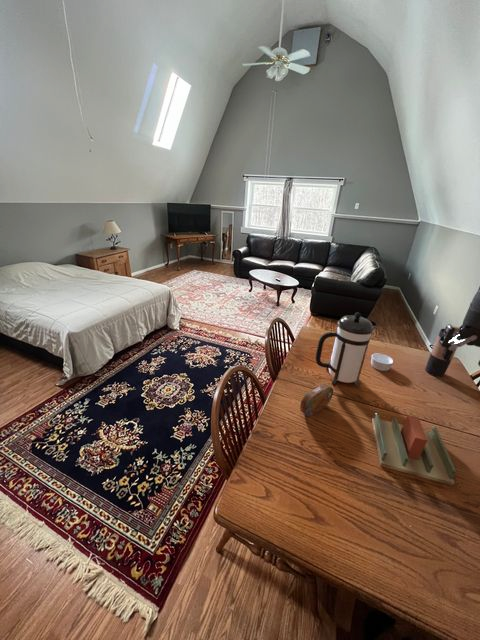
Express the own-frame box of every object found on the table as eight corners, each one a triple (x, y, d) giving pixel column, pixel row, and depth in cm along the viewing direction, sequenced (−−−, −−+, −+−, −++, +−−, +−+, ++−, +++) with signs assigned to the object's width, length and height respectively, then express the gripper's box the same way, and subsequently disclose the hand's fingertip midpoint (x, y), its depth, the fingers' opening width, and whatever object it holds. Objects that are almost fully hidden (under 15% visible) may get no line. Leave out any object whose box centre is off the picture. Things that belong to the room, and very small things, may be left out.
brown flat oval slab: (303, 420, 90) (307, 400, 87) (296, 414, 93) (300, 395, 89) (331, 403, 99) (335, 384, 95) (324, 398, 101) (328, 379, 97)
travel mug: (427, 375, 117) (443, 334, 109) (422, 365, 124) (437, 327, 115) (447, 379, 115) (465, 338, 107) (441, 369, 122) (458, 330, 113)
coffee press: (335, 362, 123) (349, 301, 110) (368, 380, 112) (387, 315, 99) (311, 375, 113) (323, 310, 100) (344, 396, 102) (363, 326, 89)
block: (410, 436, 85) (418, 417, 81) (418, 460, 77) (427, 440, 73) (399, 433, 85) (407, 414, 82) (406, 457, 77) (415, 437, 74)
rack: (431, 434, 87) (435, 424, 85) (453, 486, 71) (459, 475, 70) (371, 420, 92) (374, 410, 90) (380, 465, 76) (384, 455, 74)
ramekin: (366, 360, 126) (368, 352, 124) (385, 361, 126) (387, 353, 124) (374, 371, 118) (376, 363, 116) (394, 372, 118) (397, 364, 116)
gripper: (462, 310, 66) (438, 365, 73) (532, 320, 63) (501, 376, 70) (450, 300, 73) (429, 351, 80) (513, 308, 69) (486, 361, 76)
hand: (463, 363), depth 75 cm, fingers open, 8 cm apart
